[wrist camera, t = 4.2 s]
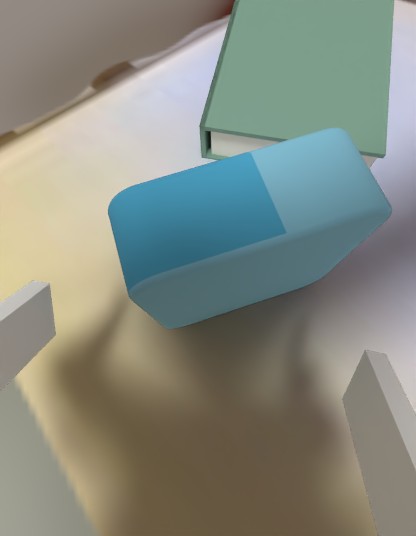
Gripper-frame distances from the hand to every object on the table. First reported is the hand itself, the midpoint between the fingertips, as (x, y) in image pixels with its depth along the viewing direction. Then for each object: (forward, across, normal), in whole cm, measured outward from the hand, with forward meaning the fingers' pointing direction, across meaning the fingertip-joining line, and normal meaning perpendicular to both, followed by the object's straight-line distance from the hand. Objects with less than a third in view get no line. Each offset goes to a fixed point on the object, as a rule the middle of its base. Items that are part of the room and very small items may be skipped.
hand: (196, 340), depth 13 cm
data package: (+11, +1, -3) cm, 12 cm away
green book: (+25, +3, +11) cm, 28 cm away
